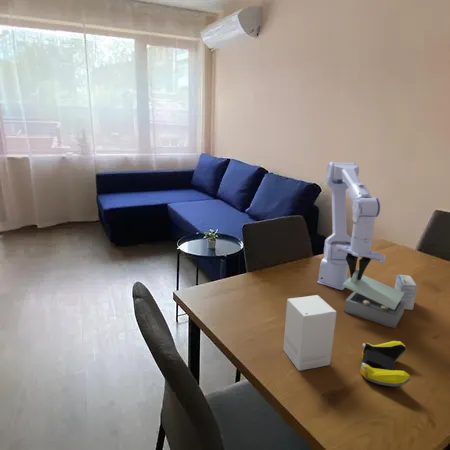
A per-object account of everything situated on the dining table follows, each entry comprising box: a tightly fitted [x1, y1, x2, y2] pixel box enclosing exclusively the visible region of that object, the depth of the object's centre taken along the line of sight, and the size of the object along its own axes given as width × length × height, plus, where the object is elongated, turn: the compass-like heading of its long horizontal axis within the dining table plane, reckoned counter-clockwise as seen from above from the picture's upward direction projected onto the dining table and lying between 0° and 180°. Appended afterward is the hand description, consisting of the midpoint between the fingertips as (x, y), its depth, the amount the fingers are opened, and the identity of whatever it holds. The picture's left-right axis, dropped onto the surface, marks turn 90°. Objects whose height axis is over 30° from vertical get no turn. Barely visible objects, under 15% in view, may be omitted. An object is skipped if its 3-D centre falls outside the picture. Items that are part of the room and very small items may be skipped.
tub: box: [343, 291, 405, 329], centre depth 114 cm, size 15×11×4 cm
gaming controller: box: [359, 340, 411, 388], centre depth 88 cm, size 15×6×10 cm
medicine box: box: [394, 274, 418, 311], centre depth 120 cm, size 8×4×9 cm, turn 168°
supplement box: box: [283, 294, 337, 372], centre depth 91 cm, size 9×9×15 cm
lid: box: [342, 267, 404, 310], centre depth 111 cm, size 16×12×5 cm
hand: (356, 278), depth 114 cm, fingers closed on lid
